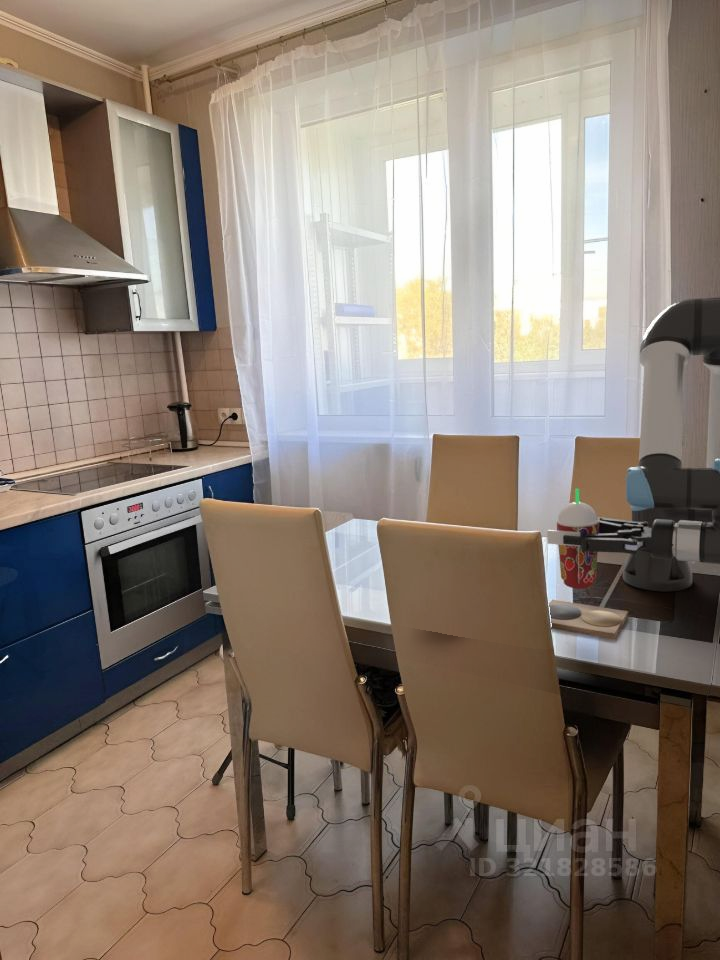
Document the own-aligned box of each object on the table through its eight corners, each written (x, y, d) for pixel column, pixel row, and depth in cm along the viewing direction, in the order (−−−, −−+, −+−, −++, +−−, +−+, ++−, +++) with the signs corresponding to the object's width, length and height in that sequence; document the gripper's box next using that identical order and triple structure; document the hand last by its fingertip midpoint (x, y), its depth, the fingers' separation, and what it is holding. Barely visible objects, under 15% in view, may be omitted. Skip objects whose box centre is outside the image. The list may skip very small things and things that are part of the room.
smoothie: (604, 590, 132) (603, 492, 128) (560, 592, 133) (558, 494, 129) (595, 576, 140) (594, 483, 136) (554, 577, 141) (552, 485, 137)
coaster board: (552, 604, 149) (552, 598, 149) (627, 616, 140) (628, 610, 140) (534, 625, 139) (534, 618, 139) (614, 639, 130) (614, 632, 130)
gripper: (667, 577, 117) (539, 564, 129) (682, 543, 135) (567, 533, 146) (668, 536, 116) (538, 526, 128) (682, 507, 133) (567, 500, 145)
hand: (554, 530), depth 137 cm, fingers closed on smoothie, 8 cm apart
